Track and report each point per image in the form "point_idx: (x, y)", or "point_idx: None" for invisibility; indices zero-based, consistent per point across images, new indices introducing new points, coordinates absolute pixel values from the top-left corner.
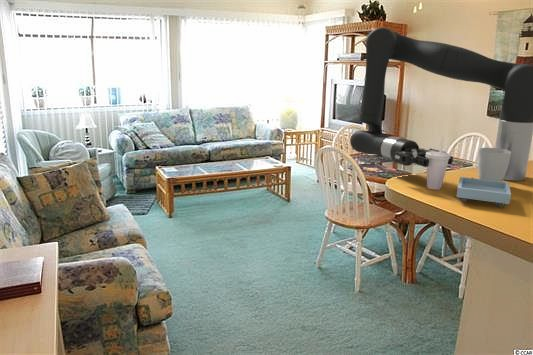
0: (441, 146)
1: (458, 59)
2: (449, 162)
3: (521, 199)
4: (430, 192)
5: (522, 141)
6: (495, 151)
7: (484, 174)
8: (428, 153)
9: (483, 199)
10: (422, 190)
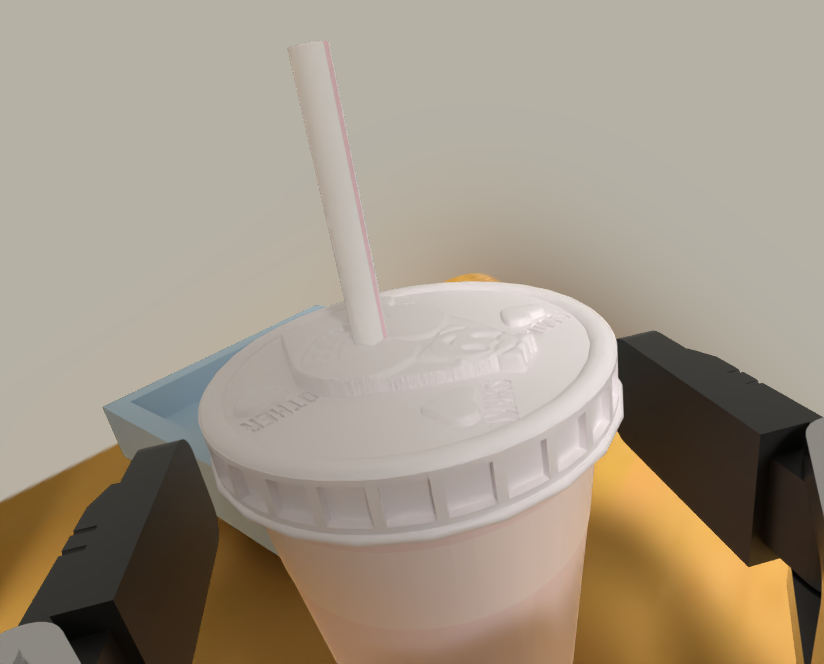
0: (353, 214)
1: None
2: (210, 514)
3: (106, 464)
4: (588, 586)
5: None
6: None
7: None
8: (568, 355)
9: None
10: (658, 649)
